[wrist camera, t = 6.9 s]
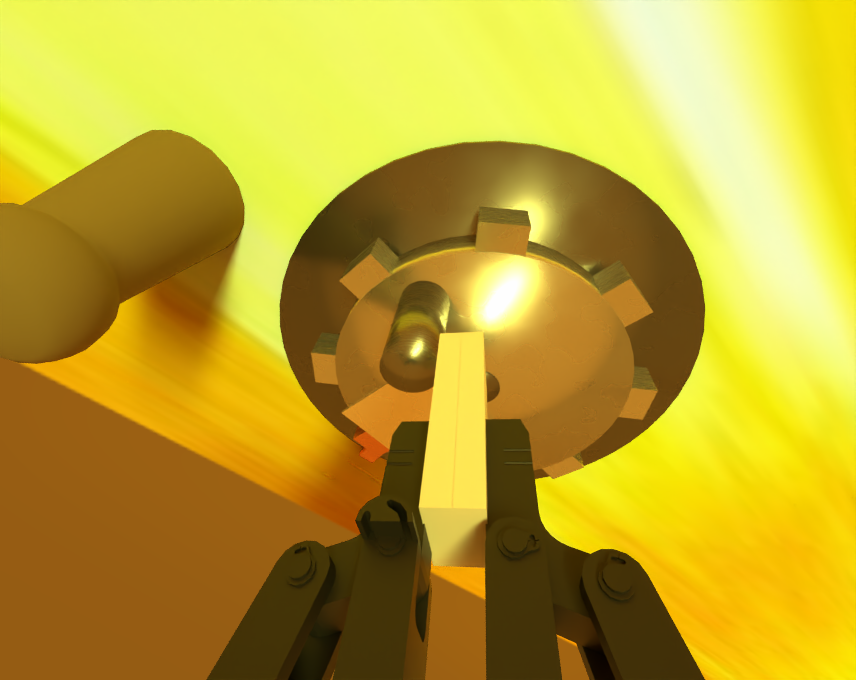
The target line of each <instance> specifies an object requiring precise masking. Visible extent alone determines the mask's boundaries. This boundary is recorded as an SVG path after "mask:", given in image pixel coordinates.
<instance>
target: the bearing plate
mask: <svg viewBox="0 0 856 680" xmlns="http://www.w3.org/2000/svg"><path fill="white" fill-rule="evenodd" d="M479 206H480V207H492V208H503V209H514V210H526V211H528V214H529V218H530V222H531V231H530V236H529V241H532V242H536V243H538V244H541V245H543V246H546V247H549V248H551V249H554V250H556V251H558V252H560V253H561V254H563V255H565V256H567V257H569V258H570V259H572V260H574V261H575V262H576V263H578V264H579V265H580V266H582V267H583V268H584V269H586V270H587V271H588V272H589V273H590V274H591V275H592V276H593V275H595V274H597V273H598V272H600V271H602V270H603V269H605V268H607V267H608V266H610V265H611V264H613V263H615V262H616V261H618V260H620V261H621V263H622V264H623V266H624V267H625V269H626V270H627V272H628V273H629V274H630V276H631V277H632V279H633V280H634V282H635V283H636V285H637V286H638V288H639V289H640V290H641V292H642V294H643V295H644V297H645V299H646V300H647V302H648V304H649V306H650V307H651V309H652V311H653V313H651V314H649V315H647V316H645V317H643V318H641V319H639V320H638V321H636V322H634V323H632V324H630V325H628V326H626V327H625V330H626V332H627V334H628V336H629V338H630V343H631V347H632V351H633V356H634V366H637V367H646V368H647V369H648V371H649V373H650V376H651V378H652V380H653V382H654V384H655V386H656V388H657V390H658V392H657V394H656V395H655V397H654V399H653V401H652V403H651V405H650V407H649V409H648V411H647V413H646V414H645V416H644V418H643V420H641V419H632V418H623V417H617V419H616V420H615V422H614V423H613V424H612V426H611V427H610V428H609V429H608V430H607V431H606V432H605V433H604V434H603V435H602V436H601V437H600V438H599V439H597V440H596V441H595V442H594V443H592V444H591V445H590V446H588V447H587V448H585V449H584V450H582V451H580V452H581V456H582V461H583V465H584V466H585V465H587V464H590V463H592V462H595V461H597V460H599V459H601V458H603V457H605V456H607V455H609V454H611V453H613V452H615V451H616V450H618V449H619V448H621V447H623V446H624V445H626V444H628V443H629V442H631V441H632V440H633V439H635V438H636V437H637V436H639V435H640V434H641V433H643V432H644V431H645V430H647V429H648V428H649V427H650V426H651V425H652V424H653V423H654V422H655V421H656V420H657V419H658V418H659V417H660V416H661V415H662V414H663V413H664V412H665V411H666V410H667V408H668V407H669V406H670V405H671V403H672V402H673V401H674V400H675V399H676V397H677V396H678V395H679V393H680V391H681V390H682V388H683V386H684V385H685V383H686V381H687V380H688V378H689V376H690V374H691V371H692V369H693V367H694V364H695V362H696V359H697V357H698V354H699V350H700V346H701V341H702V337H703V332H704V317H705V303H704V295H703V288H702V281H701V278H700V275H699V272H698V269H697V266H696V263H695V260H694V257H693V255H692V253H691V251H690V249H689V247H688V246H687V244H686V242H685V240H684V238H683V237H682V235H681V233H680V231H679V230H678V228H677V227H676V226H675V225H674V224H673V222H672V221H671V220H670V219H669V218H668V216H667V215H666V214H665V213H664V211H663V210H662V209H661V208H660V207H659V206H658V205H657V204H656V203H655V202H654V201H653V200H651V199H650V198H649V197H648V196H647V195H646V194H644V193H643V192H642V191H641V190H640V189H639V188H637V187H636V186H635V185H634V184H632V183H631V182H629V181H627V180H626V179H624V178H622V177H621V176H619V175H618V174H616V173H614V172H613V171H611V170H609V169H608V168H606V167H604V166H602V165H599V164H597V163H594V162H592V161H590V160H587V159H585V158H582V157H580V156H577V155H575V154H573V153H569V152H565V151H561V150H557V149H553V148H549V147H545V146H541V145H537V144H527V143H516V142H506V141H484V142H462V143H457V144H452V145H446V146H441V147H435V148H430V149H426V150H423V151H420V152H417V153H414V154H411V155H408V156H405V157H402V158H399V159H396V160H394V161H392V162H390V163H388V164H386V165H384V166H382V167H380V168H378V169H376V170H374V171H372V172H370V173H368V174H366V175H364V176H363V177H362V178H360V179H359V180H357V181H356V182H355V183H353V184H352V185H350V186H349V187H348V188H346V189H345V190H343V191H342V192H341V193H339V194H338V195H337V196H336V197H335V198H334V199H333V200H332V201H331V202H330V203H329V204H328V205H327V206H326V207H325V208H324V209H323V210H322V211H321V212H320V213H319V214H318V215H317V217H316V218H315V219H314V221H313V222H312V223H311V225H310V226H309V227H308V229H307V230H306V231H305V233H304V234H303V236H302V237H301V239H300V241H299V243H298V245H297V247H296V249H295V251H294V253H293V255H292V257H291V259H290V261H289V264H288V268H287V271H286V274H285V277H284V280H283V285H282V292H281V299H280V327H281V333H282V339H283V344H284V348H285V351H286V354H287V357H288V360H289V363H290V366H291V368H292V370H293V372H294V374H295V376H296V378H297V380H298V382H299V384H300V386H301V387H302V389H303V390H304V392H305V393H306V395H307V396H308V398H309V399H310V401H311V402H312V403H313V404H314V405H315V407H316V408H317V409H318V410H319V411H320V412H321V414H322V415H323V416H324V417H325V418H326V419H327V420H328V421H329V422H330V423H332V424H333V425H334V426H335V427H336V428H337V429H338V430H339V431H341V432H342V433H343V434H344V435H346V436H347V437H348V438H350V439H351V440H352V441H354V442H355V443H357V444H359V443H358V442H356V441H355V440H354V439H353V438H354V435H355V432H356V428H357V424H355V423H354V422H353V421H351V420H350V419H349V418H347V417H346V416H345V415H343V414H342V410H344V409H346V408H347V407H348V406H347V404H346V403H345V401H344V398H343V396H342V394H341V391H340V389H339V385H336V384H327V383H319V382H315V375H314V369H313V362H312V355H311V352H312V350H313V348H314V346H315V344H316V343H317V341H318V339H319V337H320V335H321V333H331V334H340V332H341V330H342V328H343V326H344V324H345V321H346V319H347V317H348V315H349V313H350V311H351V309H352V307H353V305H354V303H355V301H356V299H357V297H356V296H355V295H354V294H353V293H352V292H351V291H350V290H349V289H348V288H347V287H345V286H344V285H343V284H342V283H341V282H340V281H339V280H340V278H341V277H342V275H343V273H344V272H345V270H346V268H347V266H348V265H349V263H350V262H351V261H352V260H353V259H355V258H356V257H357V256H358V255H359V254H360V253H361V252H362V251H364V250H365V249H366V248H367V247H368V246H369V245H370V244H372V243H373V242H374V241H375V240H376V239H377V238H378V237H379V238H380V239H381V240H382V241H383V242H384V243H385V244H386V245H387V246H388V247H389V248H390V249H391V250H392V251H393V253H394V254H395V255H396V256H397V257H399V256H401V255H403V254H405V253H406V252H408V251H410V250H412V249H415V248H417V247H420V246H422V245H425V244H427V243H430V242H434V241H438V240H442V239H446V238H450V237H457V236H465V235H476V229H477V221H478V213H479ZM359 445H360V444H359ZM360 446H362V445H360ZM362 447H363V446H362ZM388 454H389V451H388V452H386V453H384V454H382V455H381V456H379V457H382V458H384V459H386V460H387V459H388ZM359 456H361V457H362V458H364V459H366V460H368V461H370V462H372V463H373V462H374V461H375V460H377V459H378V458H379V457H376V456H375V455H374V454H372V453H371V452H370V451H368V450H367V449H366V448H364V447H363V449H362V450H361V451H360V454H359ZM548 476H549V475H548V474H547V473H546V472H545V471H544V470H543V469H542V468H541V469H538V470H534V477H535V479H538V478H543V477H548Z"/></svg>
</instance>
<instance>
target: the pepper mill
mask: <svg viewBox="0 0 856 680" xmlns="http://www.w3.org/2000/svg"><path fill="white" fill-rule="evenodd" d="M243 224H244V203H243V200H242V196H241V193H240V189H239V186H238V184H237V183H236V181H235V179H234V178H233V176H232V174H231V173H230V171H229V169H228V167H227V166H226V165H225V164H224V163H223V162H222V161H221V160H220V159H219V158H218V157H217V156H216V155H215V154H214V153H213V151H212V150H210V149H209V148H207V147H206V146H204V145H203V144H201V143H200V142H198V141H197V140H195V139H194V138H192V137H190V136H187V135H184V134H181V133H178V132H175V131H172V130H151V131H149V132H146V133H144V134H142V135H140V136H138V137H136V138H134V139H132V140H131V141H129V142H127V143H126V144H124V145H122V146H121V147H119V148H117V149H116V150H114V151H112V152H110V153H109V154H107V155H105V156H104V157H102V158H100V159H99V160H97V161H95V162H94V163H92V164H90V165H89V166H87V167H85V168H84V169H82V170H80V171H79V172H77V173H75V174H74V175H72V176H70V177H68V178H67V179H65V180H63V181H62V182H60V183H58V184H57V185H55V186H53V187H52V188H50V189H48V190H47V191H45V192H43V193H42V194H40V195H38V196H37V197H35V198H33V199H31V200H30V201H28V202H26V203H25V204H23V205H18V204H14V203H0V358H4V359H8V360H11V361H15V362H18V363H35V364H38V363H45V362H52V361H57V360H60V359H64V358H67V357H71V356H73V355H75V354H77V353H80V352H82V351H84V350H86V349H87V348H88V347H90V346H91V345H92V344H93V343H94V342H96V341H97V340H98V339H99V338H100V337H101V336H102V335H103V334H104V333H105V332H106V331H107V330H108V329H109V328H110V326H111V325H112V323H113V322H114V320H115V319H116V316H117V312H118V308H119V304H120V303H122V302H124V301H126V300H128V299H130V298H131V297H133V296H135V295H137V294H139V293H141V292H143V291H145V290H147V289H148V288H150V287H152V286H154V285H156V284H158V283H160V282H162V281H164V280H166V279H167V278H169V277H171V276H173V275H175V274H177V273H179V272H181V271H183V270H184V269H186V268H188V267H190V266H192V265H194V264H196V263H198V262H200V261H201V260H203V259H205V258H207V257H209V256H211V255H213V254H215V253H217V252H218V251H220V250H222V249H224V248H226V247H228V246H229V245H230V244H231V243H232V242H233V241H234V240H235V239H237V238H238V236H239V234H240V231H241V229H242V227H243Z"/></svg>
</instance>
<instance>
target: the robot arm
mask: <svg viewBox="0 0 856 680" xmlns="http://www.w3.org/2000/svg"><path fill="white" fill-rule="evenodd" d="M355 521H356V523H357V526H358V528H359V531H360V533H361V534H360V535H358V536H357V537H355V538H353V539H351V540H348V541H345V542H342V543H339V544H335V545H333V546H329V547H326V548H325V547H324V546H323V545H321V544H319V543H318V542H316V541H304V542H300V543H297V544H295V545H294V546H292V547H291V548H289V549H288V550H286V551H285V552H284V554H283V555H282V556H281V557H280V558H279V560H278V561H277V563H276V564H275V566H274V568H273V570H272V571H271V573H270V574H269V576H268V578H267V579H266V581H265V583H264V584H263V586H262V588H261V590H260V591H259V593H258V594H257V596H256V598H255V599H254V601H253V603H252V605H251V606H250V608H249V610H248V611H247V613H246V615H245V616H244V618H243V620H242V621H241V623H240V625H239V626H238V628H237V630H236V631H235V633H234V635H233V636H232V638H231V640H230V641H229V643H228V645H227V646H226V648H225V650H224V651H223V653H222V655H221V656H220V658H219V660H218V661H217V663H216V665H215V666H214V668H213V670H212V671H211V673H210V675H209V677H208V678H207V680H330V679H331V677H332V674H333V672H334V676H333V680H425V673H426V660H427V647H428V635H429V622H430V608H431V595H432V588H431V580H430V570H431V559H432V563H433V566H457V567H482V568H485V589H486V676H487V677H486V678H487V679H486V680H562V675H561V667H560V659H559V651H558V643H557V635H559V636H562V637H564V638H566V639H568V640H571V641H573V642H575V643H576V644H577V646H578V649H579V652H580V654H581V657H582V660H583V662H584V665H585V668H586V671H587V674H588V676H589V679H590V680H705V679H704V677H703V675H702V673H701V671H700V669H699V668H698V666H697V664H696V662H695V660H694V658H693V657H692V655H691V653H690V651H689V649H688V647H687V646H686V644H685V642H684V640H683V638H682V637H681V635H680V633H679V631H678V629H677V627H676V626H675V624H674V622H673V620H672V618H671V616H670V615H669V613H668V611H667V609H666V607H665V605H664V604H663V602H662V600H661V598H660V596H659V594H658V593H657V591H656V589H655V587H654V585H653V583H652V582H651V580H650V578H649V576H648V574H647V573H646V572H645V570H644V569H643V568H642V567H641V565H640V564H639V563H638V562H637V561H636V560H634V559H633V558H632V557H630V556H629V555H627V554H626V553H623V552H620V551H617V550H614V549H600V550H598V551H596V552H594V553H592V554H589V553H586V552H583V551H581V550H578V549H575V548H572V547H569V546H567V545H565V544H563V543H561V542H559V541H558V540H556V539H555V538H554V537H552V536H551V535H550V534H549V532H548V531H547V530H546V529H545V527H544V525H543V524H542V522H541V519H540V515H539V510H538V502H537V494H536V485H535V477H534V469H533V461H532V453H531V445H530V437H529V432H528V430H527V429H526V427H525V426H524V424H523V423H522V421H521V420H520V419H487V386H486V368H485V351H484V334H483V332H463V333H441V334H440V338H439V346H438V354H437V362H436V370H435V379H434V387H433V395H432V403H431V411H430V420H429V421H403V422H401V423H400V425H399V426H398V428H397V429H396V430H395V432H394V433H393V435H392V439H391V444H390V449H389V454H388V459H387V466H386V468H385V473H384V478H383V483H382V488H381V492H380V496H378V497H376V498H374V499H372V500H370V501H368V502H367V503H366V504H365V505H364V506H363V507H362V509H361V510H360V511H359V513H358V516H357V518H356V520H355ZM556 634H557V635H556ZM334 670H335V671H334Z"/></svg>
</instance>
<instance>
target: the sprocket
mask: <svg viewBox="0 0 856 680" xmlns="http://www.w3.org/2000/svg"><path fill="white" fill-rule="evenodd" d="M530 231H531V222H530V218H529V214H528V211H526V210H514V209H503V208H492V207H480V206H479V213H478V221H477V229H476V235H465V236H457V237H450V238H446V239H442V240H438V241H434V242H430V243H427V244H425V245H422V246H420V247H417V248H415V249H412V250H410V251H408V252H406V253H405V254H403V255H401V256H399V257H397V256H396V255H395V254H394V253H393V251H392V250H391V249H390V248H389V247H388V246H387V245H386V244H385V243H384V242H383V241H382V240H381V239H380V238H379V237H378V238H377V239H376V240H375V241H374V242H373V243H372V244H370V245H369V246H368V247H367V248H366V249H365V250H364V251H362V252H361V253H360V254H359V255H358V256H357V257H356V258H355V259H353V260H352V261H351V262H350V263H349V265H348V266H347V268H346V270H345V272H344V273H343V275H342V277H341V278H340V280H339V281H340V282H341V283H342V284H343V285H344V286H345V287H347V288H348V289H349V290H350V291H351V292H352V293H353V294H354V295H355V296H356V297H357V299H356V301H355V303H354V305H353V307H352V309H351V311H350V313H349V315H348V317H347V319H346V321H345V324H344V326H343V328H342V330H341V332H340V334H331V333H321V335H320V337H319V339H318V341H317V343H316V344H315V346H314V348H313V350H312V352H311V355H312V362H313V369H314V375H315V382H319V383H327V384H336V385H339V389H340V391H341V394H342V396H343V398H344V401H345V403H346V404H347V406H348V407H347V408H346V409H344V410H342V414H343V415H345V416H346V417H347V418H349V419H350V420H351V421H353V422H354V423H355V424H357V428H356V432H355V435H354V438H353V439H354V440H355V441H356V442H358V443H359V444H360V445H362V446H363V447H364V448H366V449H367V450H368V451H370V452H371V453H372V454H374V455H375V456H376V457H379V456H381V455H382V454H384V453H386V452H388V451H389V449H390V444H391V439H392V435H393V433H394V432H395V430H396V429H397V428H398V426H399V425H400V423H401V422H403V421H429V420H430V411H431V403H432V395H433V387H434V379H435V370H436V362H437V354H438V346H439V338H440V334H441V333H463V332H483V334H484V351H485V368H486V386H487V419H520V420H521V421H522V423H523V424H524V426H525V427H526V429H527V430H528V432H529V437H530V445H531V453H532V461H533V469H534V470H538V469H541V468H542V469H543V470H544V471H545V472H546V473H547V474H548V475H549V476H550V477H551V478H553V479H555V478H557V477H560V476H562V475H565V474H568V473H570V472H573V471H576V470H578V469H581V468H583V467H584V465H583V461H582V456H581V452H580V451H582V450H584V449H585V448H587V447H588V446H590V445H591V444H592V443H594V442H595V441H596V440H597V439H599V438H600V437H601V436H602V435H603V434H604V433H605V432H606V431H607V430H608V429H609V428H610V427H611V426H612V424H613V423H614V422H615V420H616V419H617V417H623V418H632V419H641V420H643V418H644V416H645V414H646V413H647V411H648V409H649V407H650V405H651V403H652V401H653V399H654V397H655V395H656V394H657V392H658V390H657V388H656V386H655V384H654V382H653V380H652V378H651V376H650V373H649V371H648V369H647V368H646V367H637V366H634V356H633V351H632V347H631V343H630V338H629V336H628V334H627V332H626V330H625V327H626V326H628V325H630V324H632V323H634V322H636V321H638V320H639V319H641V318H643V317H645V316H647V315H649V314H651V313H653V311H652V309H651V307H650V306H649V304H648V302H647V300H646V299H645V297H644V295H643V294H642V292H641V290H640V289H639V288H638V286H637V285H636V283H635V282H634V280H633V279H632V277H631V276H630V274H629V273H628V272H627V270H626V269H625V267H624V266H623V264H622V263H621V261H620V260H618V261H616V262H615V263H613V264H611V265H610V266H608V267H607V268H605V269H603V270H602V271H600V272H598V273H597V274H595V275H593V276H592V275H591V274H590V273H589V272H588V271H587V270H586V269H584V268H583V267H582V266H580V265H579V264H578V263H576V262H575V261H574V260H572V259H570V258H569V257H567V256H565V255H563V254H561V253H560V252H558V251H556V250H554V249H551V248H549V247H546V246H543V245H541V244H538V243H536V242H532V241H529V236H530Z"/></svg>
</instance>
